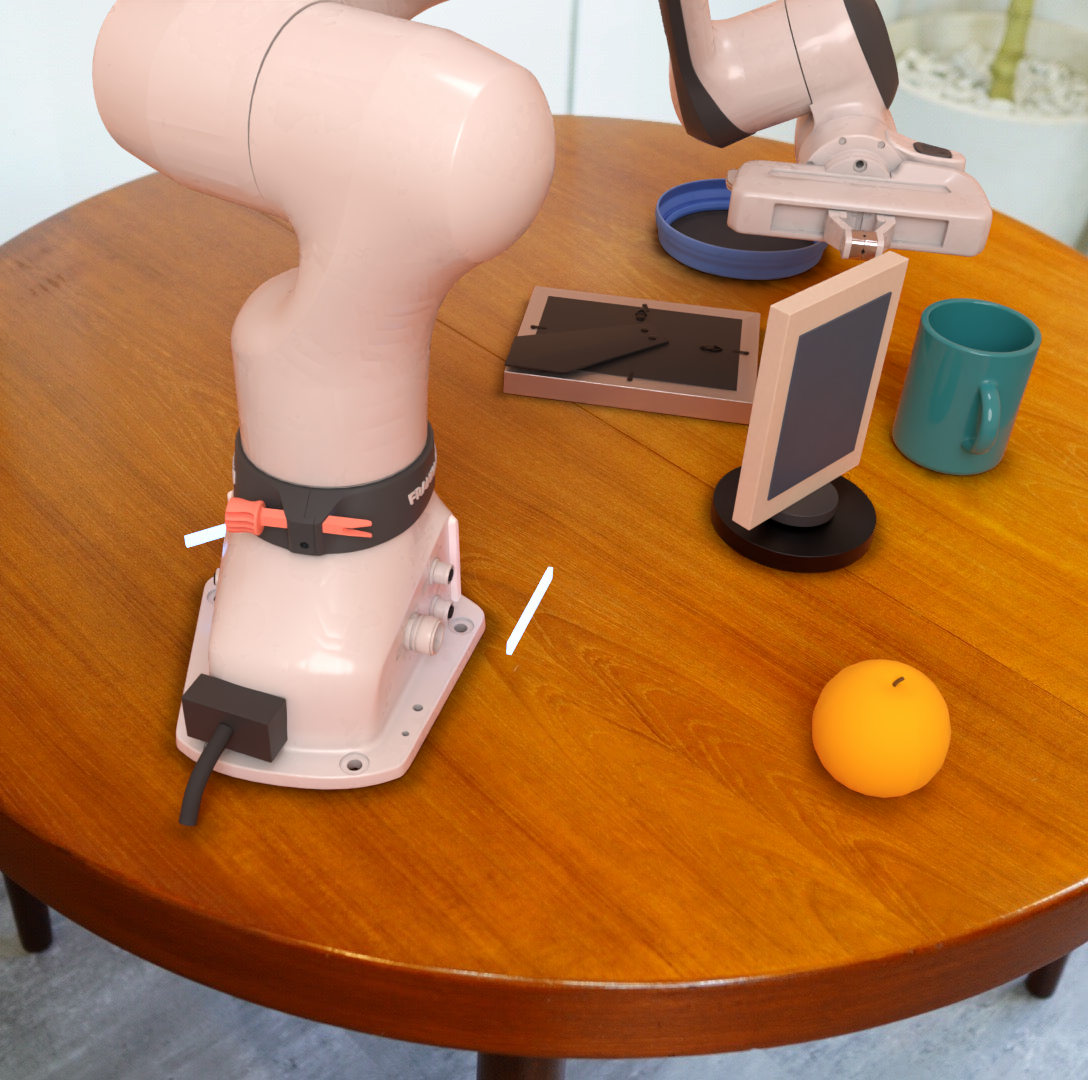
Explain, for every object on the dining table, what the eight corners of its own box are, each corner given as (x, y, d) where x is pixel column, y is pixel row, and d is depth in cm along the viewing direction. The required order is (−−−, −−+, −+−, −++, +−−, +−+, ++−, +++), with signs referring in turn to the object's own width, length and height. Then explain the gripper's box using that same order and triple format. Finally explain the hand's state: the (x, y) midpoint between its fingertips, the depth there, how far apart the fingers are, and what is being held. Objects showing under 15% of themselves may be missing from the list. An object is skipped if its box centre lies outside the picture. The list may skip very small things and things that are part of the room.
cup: (910, 499, 101) (946, 373, 94) (879, 414, 111) (910, 294, 104) (1026, 504, 102) (1070, 379, 95) (986, 419, 111) (1023, 300, 104)
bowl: (852, 283, 130) (859, 250, 128) (674, 288, 127) (678, 254, 125) (797, 206, 144) (803, 175, 142) (636, 209, 141) (639, 177, 139)
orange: (792, 717, 82) (814, 627, 77) (917, 721, 82) (946, 631, 78) (815, 818, 76) (840, 727, 71) (950, 821, 76) (984, 730, 71)
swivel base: (878, 582, 93) (882, 565, 92) (708, 562, 94) (711, 545, 93) (866, 485, 102) (870, 469, 102) (712, 467, 103) (714, 451, 102)
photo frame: (880, 488, 99) (937, 270, 88) (771, 557, 92) (818, 328, 81) (816, 453, 102) (863, 238, 91) (706, 517, 95) (743, 291, 84)
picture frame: (503, 393, 110) (751, 425, 108) (504, 363, 108) (756, 395, 107) (533, 305, 123) (757, 333, 121) (535, 278, 121) (761, 305, 119)
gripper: (731, 130, 108) (729, 197, 97) (983, 154, 107) (1011, 226, 96) (720, 202, 112) (718, 275, 101) (964, 227, 111) (988, 304, 100)
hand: (863, 251), depth 98 cm, fingers closed
